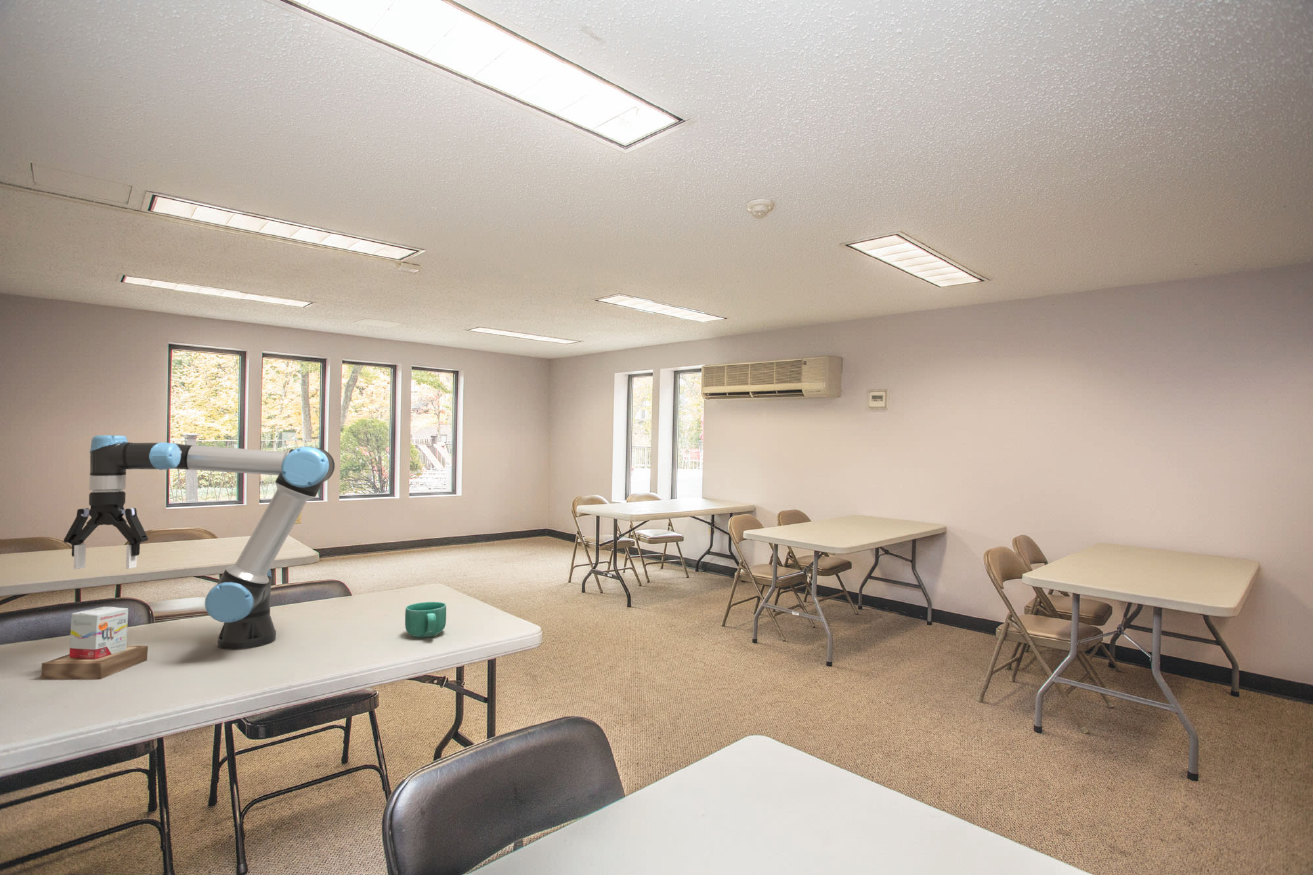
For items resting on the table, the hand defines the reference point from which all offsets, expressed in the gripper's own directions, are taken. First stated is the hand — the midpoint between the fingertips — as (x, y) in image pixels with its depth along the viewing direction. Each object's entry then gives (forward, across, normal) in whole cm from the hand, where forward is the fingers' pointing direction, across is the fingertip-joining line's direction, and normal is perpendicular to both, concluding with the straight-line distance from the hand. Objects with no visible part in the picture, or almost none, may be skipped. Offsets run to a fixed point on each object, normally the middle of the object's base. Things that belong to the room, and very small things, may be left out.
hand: (105, 568), depth 169 cm
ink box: (+23, 0, +2) cm, 23 cm away
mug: (+28, -79, -25) cm, 87 cm away
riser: (+27, 0, +2) cm, 27 cm away
